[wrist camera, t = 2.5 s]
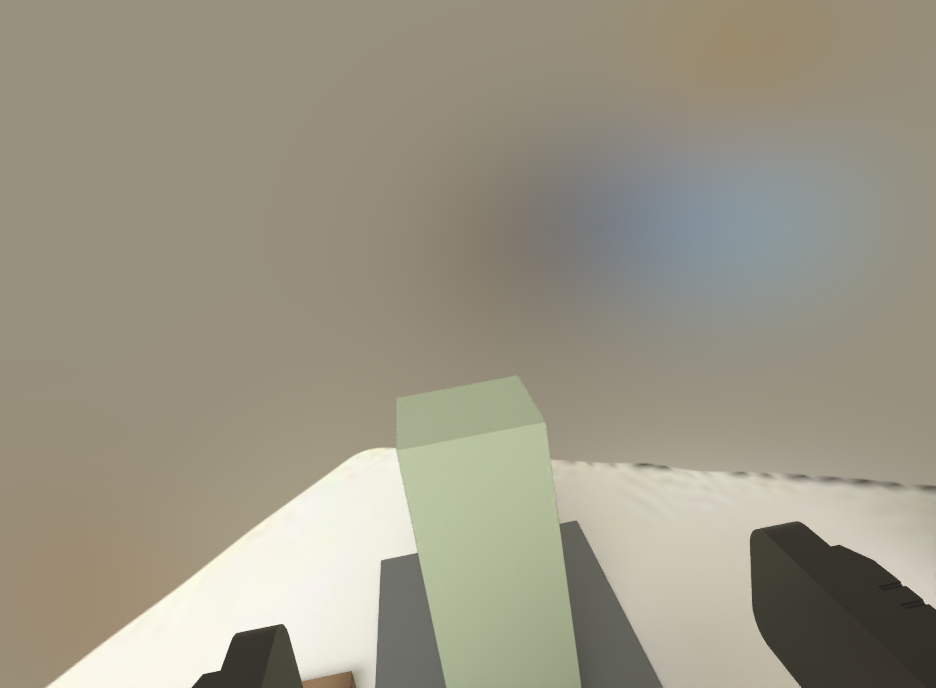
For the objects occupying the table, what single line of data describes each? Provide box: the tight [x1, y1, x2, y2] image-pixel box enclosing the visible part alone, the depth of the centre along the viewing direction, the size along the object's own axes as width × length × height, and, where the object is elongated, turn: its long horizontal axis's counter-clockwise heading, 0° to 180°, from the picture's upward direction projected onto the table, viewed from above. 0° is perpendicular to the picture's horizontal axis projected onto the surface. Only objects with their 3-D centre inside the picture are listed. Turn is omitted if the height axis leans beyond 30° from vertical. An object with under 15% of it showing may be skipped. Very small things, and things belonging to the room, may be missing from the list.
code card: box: [375, 521, 662, 688], centre depth 32 cm, size 13×17×1 cm
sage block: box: [396, 375, 581, 688], centre depth 27 cm, size 6×6×14 cm
